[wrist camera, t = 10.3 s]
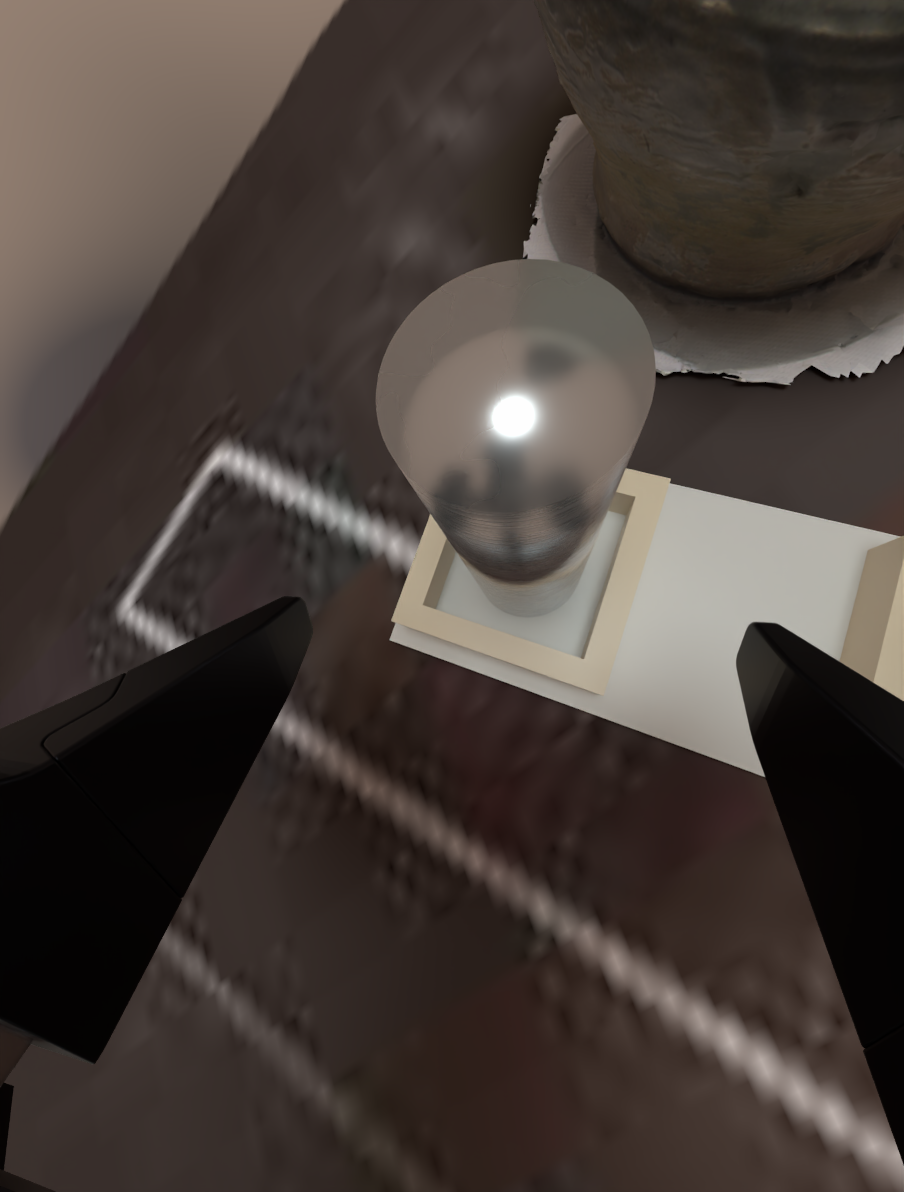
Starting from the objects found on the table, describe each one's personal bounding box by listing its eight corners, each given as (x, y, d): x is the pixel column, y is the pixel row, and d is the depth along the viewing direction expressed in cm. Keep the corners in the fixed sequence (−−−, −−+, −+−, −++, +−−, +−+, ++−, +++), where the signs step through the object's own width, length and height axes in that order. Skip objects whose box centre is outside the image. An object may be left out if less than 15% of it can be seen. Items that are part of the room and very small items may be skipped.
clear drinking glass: (536, 638, 19) (531, 569, 7) (456, 575, 20) (324, 416, 8) (603, 556, 19) (719, 337, 7) (519, 497, 20) (487, 219, 8)
